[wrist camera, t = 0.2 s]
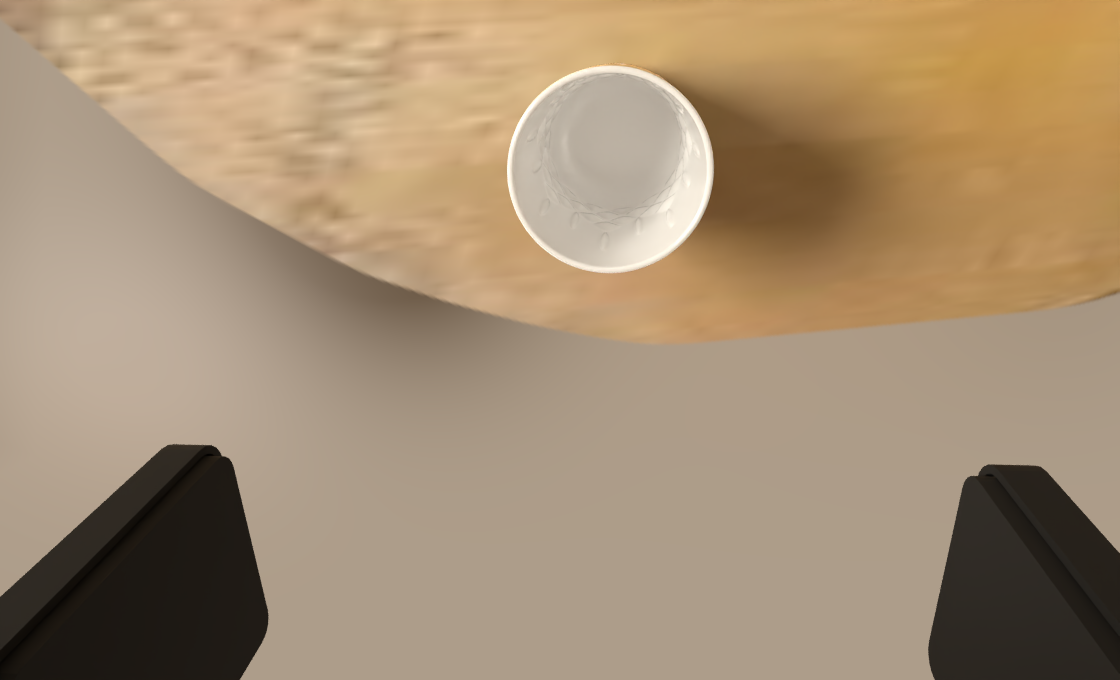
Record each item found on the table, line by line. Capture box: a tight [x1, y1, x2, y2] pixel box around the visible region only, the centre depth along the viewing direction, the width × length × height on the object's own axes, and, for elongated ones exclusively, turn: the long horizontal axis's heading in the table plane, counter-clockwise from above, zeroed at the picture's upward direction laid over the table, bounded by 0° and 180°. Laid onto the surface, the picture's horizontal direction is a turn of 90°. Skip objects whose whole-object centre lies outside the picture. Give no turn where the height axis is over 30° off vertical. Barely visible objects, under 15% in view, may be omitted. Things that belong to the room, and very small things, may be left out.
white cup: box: [507, 63, 714, 273], centre depth 33 cm, size 8×8×10 cm
